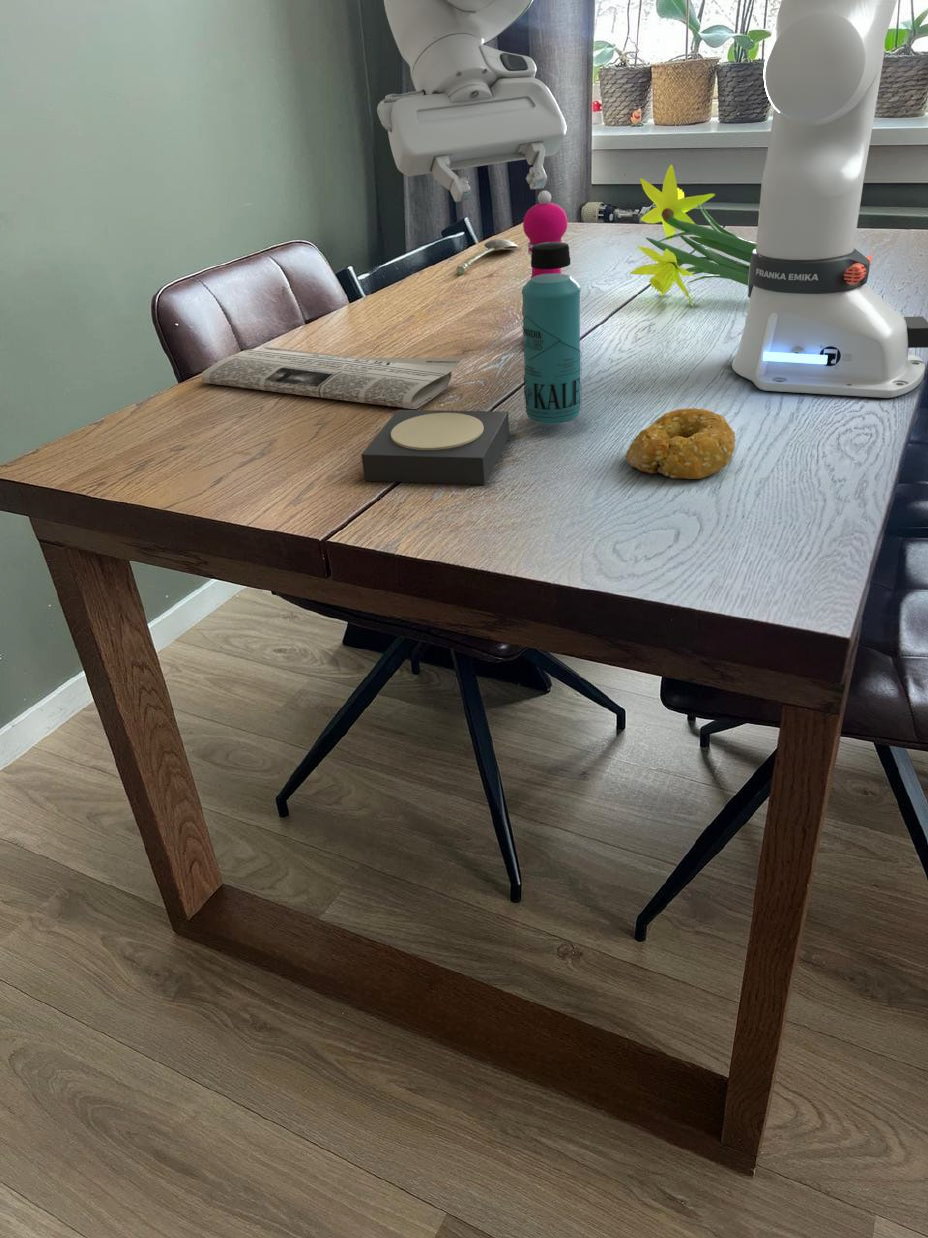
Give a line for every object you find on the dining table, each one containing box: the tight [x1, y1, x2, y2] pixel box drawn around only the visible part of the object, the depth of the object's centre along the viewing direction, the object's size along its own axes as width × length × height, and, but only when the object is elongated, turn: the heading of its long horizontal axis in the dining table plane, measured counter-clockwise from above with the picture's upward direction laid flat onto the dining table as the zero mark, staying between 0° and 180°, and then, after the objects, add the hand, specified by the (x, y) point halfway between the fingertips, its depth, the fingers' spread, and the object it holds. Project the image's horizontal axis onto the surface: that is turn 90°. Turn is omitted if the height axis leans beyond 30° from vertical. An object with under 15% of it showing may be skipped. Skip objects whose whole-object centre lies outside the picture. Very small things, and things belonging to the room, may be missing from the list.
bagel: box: [625, 407, 736, 480], centre depth 96 cm, size 10×11×5 cm
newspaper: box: [200, 346, 462, 410], centre depth 127 cm, size 35×12×4 cm, turn 61°
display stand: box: [361, 409, 510, 486], centre depth 103 cm, size 13×13×3 cm
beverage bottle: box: [521, 242, 583, 424], centre depth 104 cm, size 6×7×20 cm
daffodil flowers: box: [629, 163, 756, 307], centre depth 144 cm, size 17×15×35 cm
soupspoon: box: [455, 238, 519, 276], centre depth 183 cm, size 22×3×7 cm
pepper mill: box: [521, 190, 568, 316], centre depth 132 cm, size 7×7×20 cm
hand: (502, 191), depth 104 cm, fingers open, 8 cm apart
